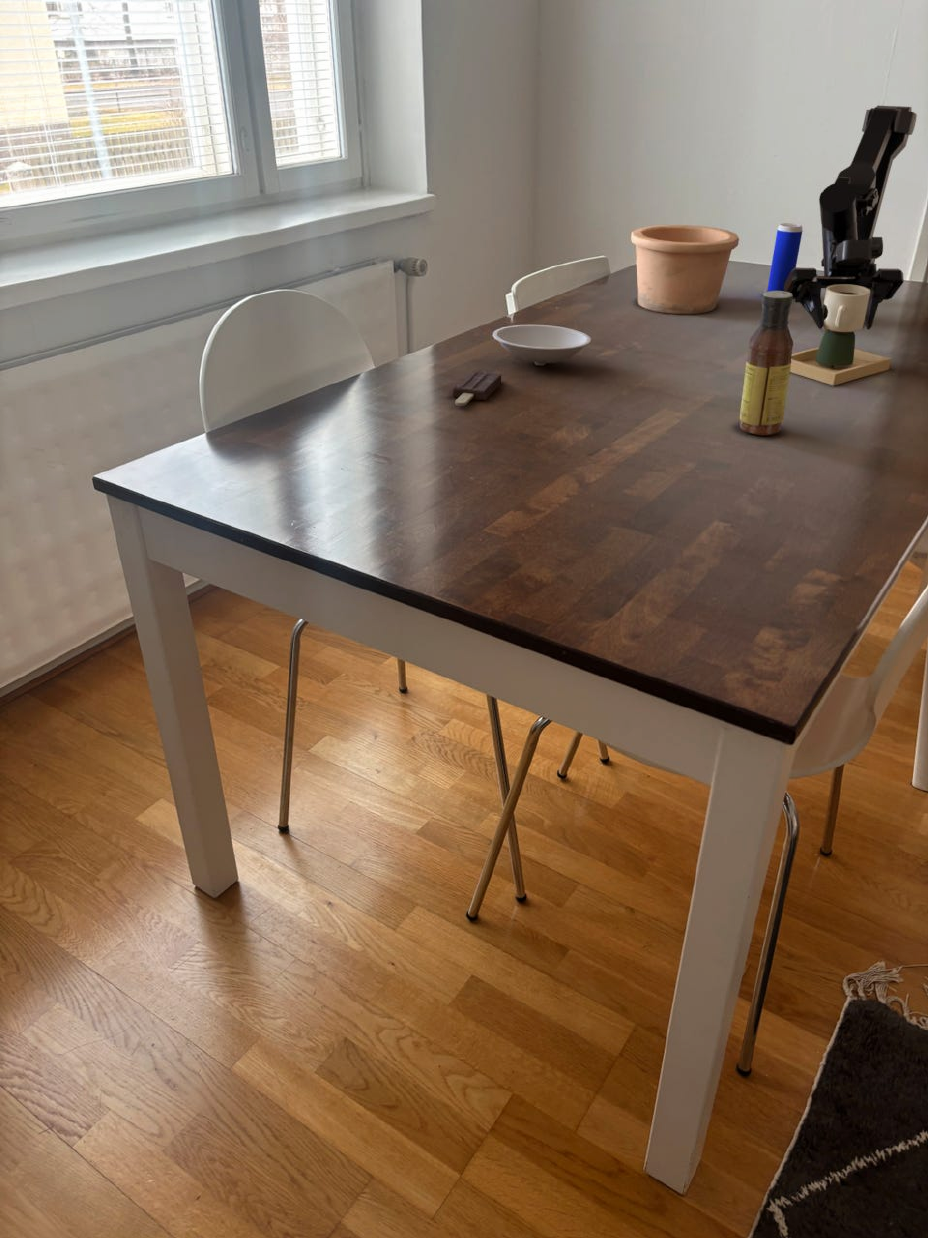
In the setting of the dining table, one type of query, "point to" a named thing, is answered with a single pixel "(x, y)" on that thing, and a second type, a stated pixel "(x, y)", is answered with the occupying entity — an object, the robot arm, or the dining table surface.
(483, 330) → the dining table surface
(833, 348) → the character mug
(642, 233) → the pottery
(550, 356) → the dish
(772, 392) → the sauce bottle
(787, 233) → the beverage can
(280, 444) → the dining table surface
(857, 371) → the mug tray
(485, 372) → the ice cream bar
